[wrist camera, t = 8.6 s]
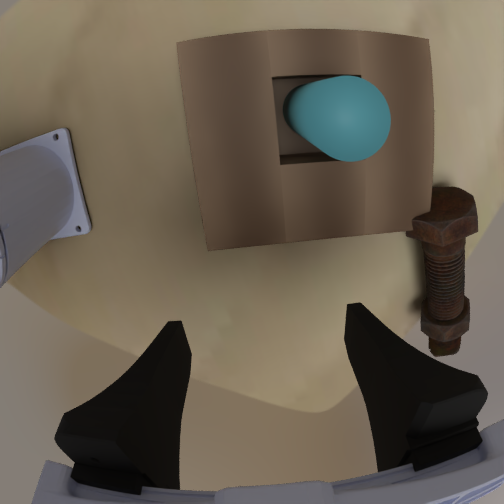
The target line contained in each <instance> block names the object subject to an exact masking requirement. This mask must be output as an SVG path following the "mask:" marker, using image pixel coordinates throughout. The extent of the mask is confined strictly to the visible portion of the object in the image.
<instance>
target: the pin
mask: <svg viewBox="0 0 504 504" xmlns="http://www.w3.org/2000/svg"><path fill="white" fill-rule="evenodd" d="M283 116H284V119H285V121H286V123H287V125H288V126H289V127H290V128H291V129H292V130H293V131H294V132H296V133H297V134H299V135H300V136H302V137H303V138H304V139H306V140H307V141H309V142H310V143H312V144H313V145H314V146H316V147H317V148H319V149H320V150H321V151H323V152H324V153H326V154H327V155H329V156H330V157H332V158H335V159H337V160H341V161H346V162H354V161H360V160H363V159H366V158H368V157H370V156H372V155H373V154H375V153H376V152H377V151H378V150H379V149H380V148H381V147H382V146H383V144H384V143H385V141H386V139H387V137H388V134H389V131H390V125H391V116H390V110H389V107H388V104H387V101H386V99H385V98H384V96H383V95H382V93H381V92H380V91H379V90H378V89H377V88H376V87H375V86H374V85H373V84H371V83H370V82H368V81H367V80H365V79H362V78H360V77H356V76H338V77H333V78H329V79H324V80H320V81H315V82H311V83H307V84H303V85H299V86H297V87H295V88H294V89H292V90H291V91H290V92H289V93H288V94H287V96H286V98H285V100H284V103H283Z"/></svg>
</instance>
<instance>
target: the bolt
mask: <svg viewBox="0 0 504 504" xmlns="http://www.w3.org/2000/svg"><path fill="white" fill-rule="evenodd" d="M412 226H413V230H411V231H406V236H407V237H410V238H414V239H417V240H421V243H422V248H423V249H424V260H425V271H426V282H427V298H426V299H425V300H423V303H422V311H421V331H422V332H424V333H425V334H426V335H427V336H429V349H431V350H430V352H431V353H432V354H433V355H434V356H435V357H438V356H446V355H453V354H456V353H457V352H458V351H459V348H460V344H461V336H462V335H463V334H464V333H465V332H467V331H468V330H469V322H470V303H469V299H468V298H467V297H466V296H464V283H465V281H464V280H465V273H464V271H465V270H464V268H465V266H464V265H465V250H464V249H465V243H466V240H465V237H467V236H469V235H471V234H474V233H476V232H478V216H477V209H476V204H475V200H474V197H473V195H471V194H469V193H468V192H466V191H464V190H462V189H460V188H457V187H435V188H432V196H431V207H430V211H429V212H427V213H424V214H422V215H419V216H416V217H414V218H413V219H412Z"/></svg>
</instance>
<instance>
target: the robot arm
mask: <svg viewBox="0 0 504 504" xmlns="http://www.w3.org/2000/svg"><path fill="white" fill-rule="evenodd" d="M56 134H58V136H59V139H58V140H57V139H56ZM78 226H80V227H81V230H80V229H79V228H78ZM90 230H91V223H90V219H89V216H88V212H87V208H86V205H85V201H84V197H83V193H82V189H81V185H80V181H79V177H78V172H77V168H76V163H75V159H74V154H73V149H72V144H71V139H70V134H69V130H68V129H67V128H60V129H57V130H54V131H52V132H49V133H46V134H43V135H40V136H38V137H35V138H32V139H30V140H27V141H25V142H22V143H20V144H17V145H15V146H12V147H10V148H8V149H5V150H3V151H1V152H0V288H1V287H2V286H3V285H4V284H5V283H6V282H7V281H8V280H9V278H10V277H11V276H12V275H13V274H14V273H15V272H16V271H17V270H18V269H19V268H20V267H21V266H22V265H24V264H25V263H26V262H27V261H28V260H29V259H30V258H31V257H32V256H33V255H34V254H35V253H36V252H37V251H38V250H39V249H40V248H41V247H42V246H44V245H45V244H46V243H47V242H48V241H49V240H52V239H58V238H64V237H70V236H76V235H83V234H87V233H89V232H90ZM344 341H345V345H346V349H347V353H348V357H349V360H350V363H351V366H352V368H353V371H354V374H355V376H356V379H357V381H358V384H359V387H360V389H361V392H362V394H363V397H364V401H365V404H366V408H367V412H368V416H369V421H370V425H371V430H372V436H373V441H374V447H375V453H376V460H377V468H378V473H374V474H370V475H365V476H361V477H356V478H351V479H346V480H341V481H335V482H329V483H328V482H324V481H304V482H295V483H286V484H276V485H261V486H240V487H239V486H238V487H229V488H224V489H222V490H219V491H191V490H180V481H179V449H180V431H181V419H182V413H183V408H184V403H185V398H186V393H187V388H188V383H189V378H190V371H191V356H192V353H191V350H190V347H189V344H188V341H187V337H186V334H185V331H184V327H183V324H182V321H168V322H167V324H166V325H165V326H164V327H163V329H162V330H161V331H160V333H159V334H158V335H157V337H156V338H155V339H154V340H153V342H152V343H151V344H150V345H149V347H148V348H147V349H146V350H145V352H144V353H143V354H142V355H141V356H140V357H139V359H138V360H137V361H136V362H135V363H134V364H133V365H132V366H131V367H130V368H129V369H128V371H126V372H125V373H124V374H123V375H122V376H121V377H120V378H119V379H118V380H116V381H115V382H114V383H113V384H112V385H110V386H109V387H107V388H106V389H105V390H104V391H102V392H101V393H100V394H98V395H96V396H95V397H93V398H92V399H90V400H89V401H87V402H85V403H84V404H82V405H80V406H78V407H76V408H74V409H72V410H70V411H69V412H66V413H64V415H63V417H62V419H61V422H60V424H59V427H58V429H57V432H56V434H55V441H56V443H57V445H58V446H59V447H60V449H62V451H63V452H64V453H65V454H66V455H67V456H69V458H71V459H72V460H73V461H74V462H75V464H74V467H73V468H71V467H69V466H67V465H64V464H60V463H56V462H53V461H50V460H46V462H45V465H44V467H43V470H42V473H41V476H40V479H39V482H38V485H37V488H36V491H35V494H34V497H33V501H32V504H469V503H471V502H473V501H475V500H477V499H478V498H480V497H482V496H484V495H486V494H488V493H490V492H492V491H493V490H495V489H497V488H499V487H500V486H501V485H502V484H503V483H504V419H503V420H501V421H499V422H497V423H494V424H492V425H491V426H488V427H486V428H484V429H483V430H482V431H480V432H479V431H478V429H477V426H478V425H479V422H478V420H477V418H476V416H477V415H478V413H479V412H480V410H481V409H482V407H483V405H484V404H485V402H486V400H487V396H488V392H487V390H486V388H485V387H484V385H483V383H482V382H481V380H480V378H479V377H478V376H477V375H475V374H471V373H468V372H465V371H462V370H458V369H456V368H453V367H451V366H448V365H446V364H444V363H441V362H439V361H437V360H435V359H433V358H431V357H429V356H427V355H426V354H424V353H422V352H420V351H419V350H417V349H416V348H414V347H413V346H411V345H410V344H408V343H407V342H405V341H404V340H403V339H401V338H400V337H399V336H397V335H396V334H395V333H394V332H392V331H391V330H390V329H389V328H388V327H387V326H385V325H384V324H383V323H382V322H381V321H380V320H379V319H378V318H377V317H375V316H374V315H373V314H372V313H371V312H370V311H369V310H368V309H367V308H366V307H365V306H364V305H363V304H362V303H353V304H347V312H346V324H345V335H344Z"/></svg>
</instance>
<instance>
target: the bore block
mask: <svg viewBox="0 0 504 504" xmlns="http://www.w3.org/2000/svg"><path fill="white" fill-rule="evenodd" d="M177 52H178V61H179V69H180V77H181V85H182V92H183V100H184V107H185V114H186V121H187V128H188V135H189V142H190V148H191V155H192V161H193V167H194V174H195V180H196V186H197V192H198V198H199V204H200V210H201V215H202V221H203V227H204V232H205V238H206V243H207V249H208V251H212V250H221V249H231V248H240V247H250V246H260V245H270V244H279V243H289V242H299V241H309V240H319V239H329V238H339V237H349V236H359V235H370V234H380V233H390V232H400V231H411V230H413V226H412V219H413V218H414V217H416V216H419V215H422V214H424V213H427V212H429V211H430V207H431V196H432V182H433V163H434V97H433V79H432V66H431V55H430V46H429V39H424V38H419V37H412V36H406V35H398V34H390V33H381V32H371V31H358V30H338V29H287V30H268V31H255V32H244V33H235V34H226V35H219V36H212V37H205V38H199V39H193V40H187V41H182V42H177ZM338 76H356V77H360V78H362V79H365V80H367V81H368V82H370V83H371V84H373V85H374V86H375V87H376V88H377V89H378V90H379V91H380V92H381V93H382V95H383V96H384V98H385V99H386V101H387V104H388V107H389V110H390V116H391V125H390V131H389V134H388V137H387V139H386V141H385V143H384V144H383V146H382V147H381V148H380V149H379V150H378V151H377V152H376V153H375V154H373V155H372V156H370V157H368V158H366V159H363V160H360V161H354V162H346V161H341V160H337V159H335V158H332V157H330V156H329V155H327V154H326V153H324V152H323V151H321V150H320V149H319V148H317V147H316V146H314V145H313V144H312V143H310V142H309V141H307V140H306V139H304V138H303V137H302V136H300V135H299V134H297V133H296V132H294V131H293V130H292V129H291V128H290V127H289V126H288V125H287V123H286V121H285V119H284V116H283V103H284V100H285V98H286V96H287V94H288V93H289V92H290V91H291V90H292V89H294V88H295V87H297V86H299V85H303V84H307V83H311V82H315V81H320V80H324V79H329V78H333V77H338Z"/></svg>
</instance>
